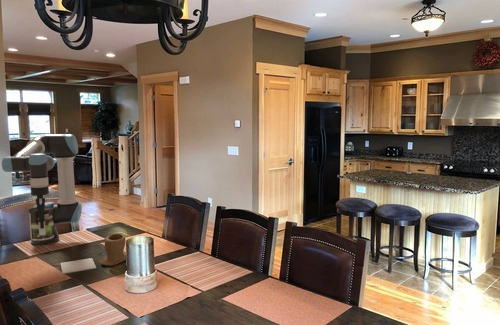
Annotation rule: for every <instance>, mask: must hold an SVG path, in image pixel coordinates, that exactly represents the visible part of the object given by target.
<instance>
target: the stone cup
mask: <svg viewBox="0 0 500 325" xmlns="http://www.w3.org/2000/svg"><path fill="white" fill-rule="evenodd" d="M125 247H126V236H125V235H124V234H123V233H119V232H117V233H110V234H109V235H108V236H106V237H105V239H104V249H105V253H106V257H105V258H102V259H101V260H100V261H99V263H100V264H101V265H103V266H107V267H110V266H111V267H112V266H115V265H117V264H120V263H122V262H124V261H126V260H127V259H126V253H127V252H126V251H125Z"/></svg>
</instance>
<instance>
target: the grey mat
mask: <svg viewBox="0 0 500 325" xmlns="http://www.w3.org/2000/svg"><path fill="white" fill-rule="evenodd" d="M60 267H61V274H63V275H65V274H71V273H76V272H81V271H89V270H93V269H97V266H96V264H95V262H94V259H93V258H92V257H91V258H85V259H84V258H83V259H77V260H71V261H64V262H60Z"/></svg>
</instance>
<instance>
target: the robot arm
mask: <svg viewBox="0 0 500 325" xmlns="http://www.w3.org/2000/svg"><path fill="white" fill-rule="evenodd" d="M77 154H79V144H78V140H77V138H76V135H74V134H70V133H60V134H59V133H55V134H53V133H52V134H50V133H48V134H47V133H46V134H41V135H39V136H36V137H34V138H31V139H30V140H28V142H27V143H26V145H25V146H24V147H23V148H22V149H21V150H19V151H18V152H16V153H15V154H14V155H13V156H4V157H3V158H2V159H1V160H2V161H1V169H2V171H4V172H5V173H24V172H25V173H26V172H29V180H28V182H29V183H30V194H31V196H34V197H35V196H36V198H35V203H36V204H35V205H33V207H32V208H38V216H39V220H37V222H39V235H46V229H45V216H44V207H52V208H53V225H54V237H53V238H51V239H47V240H41V241H34V240H31V239H30V243H31V245H36V246H39V245H40V246H43V245H49V244H55V243H56V242H58V241H60V234H59V232H58V230H57V227H56V225H57V224H73V223H79V221H81V216H82V212H83V211H82V210H83V208H82V207H83V206H82V203H80V202H79V200H78V198H76V187H75V173H74V172H75V170H74V159H75V158H76V155H77ZM50 155H53V157H52V156H50ZM55 160H56V162H55ZM56 163H57V164H56ZM55 164H56V165H57V167H56V168H57V179H58V191H59V192H58V193H59V194H58V195H59V200H58V201H57V204H55V202H54V201H46V198H45V197H44V196H47V195H49V193H50V189H49V188H50V187H49V174H48V172H49V171H51V170H53V168H54V166H55ZM40 218H42V219H40Z"/></svg>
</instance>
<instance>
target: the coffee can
mask: <svg viewBox="0 0 500 325" xmlns="http://www.w3.org/2000/svg"><path fill="white" fill-rule="evenodd" d="M44 216H45V229H46V235H39V222H37V220H39V216H38V208H33V207H32V208H29V209H28V217H29V231H30V232H29V233H30V234H29V235H30V241H31V240H34V241H41V240H47V239H51V238H53V237H54V225H53V208H52V207H44ZM40 219H42V218H40Z"/></svg>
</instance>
